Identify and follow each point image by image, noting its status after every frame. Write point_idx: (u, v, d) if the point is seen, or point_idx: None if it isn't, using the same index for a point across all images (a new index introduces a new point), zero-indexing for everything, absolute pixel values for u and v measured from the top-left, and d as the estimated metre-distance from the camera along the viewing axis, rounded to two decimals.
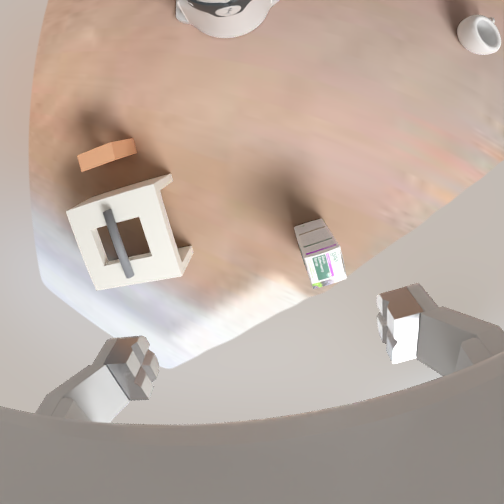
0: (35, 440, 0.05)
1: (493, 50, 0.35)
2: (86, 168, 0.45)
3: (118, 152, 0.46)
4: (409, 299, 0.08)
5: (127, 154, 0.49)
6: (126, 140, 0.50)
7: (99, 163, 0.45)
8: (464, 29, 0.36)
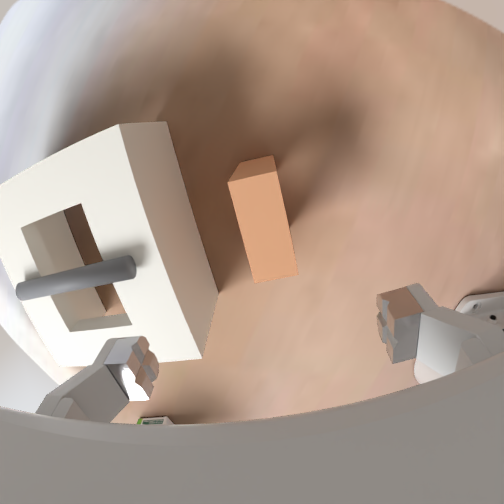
0: (35, 440, 0.05)
1: None
2: (236, 200, 0.19)
3: None
4: (409, 299, 0.08)
5: None
6: None
7: (248, 241, 0.20)
8: None
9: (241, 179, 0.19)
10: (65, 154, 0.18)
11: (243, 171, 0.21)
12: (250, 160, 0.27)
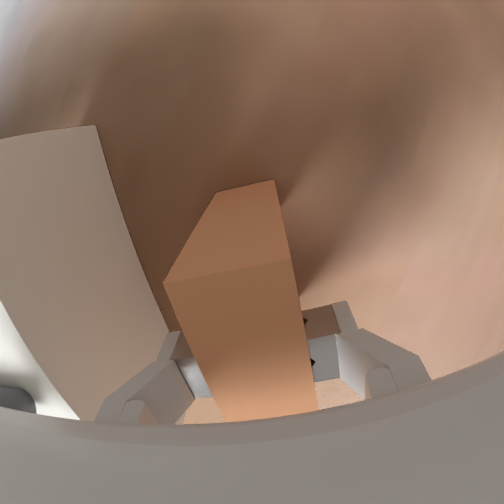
0: (35, 440, 0.05)
1: None
2: (190, 323, 0.08)
3: None
4: (329, 318, 0.09)
5: None
6: None
7: (222, 394, 0.09)
8: None
9: (197, 276, 0.07)
10: None
11: (212, 231, 0.10)
12: (234, 189, 0.15)
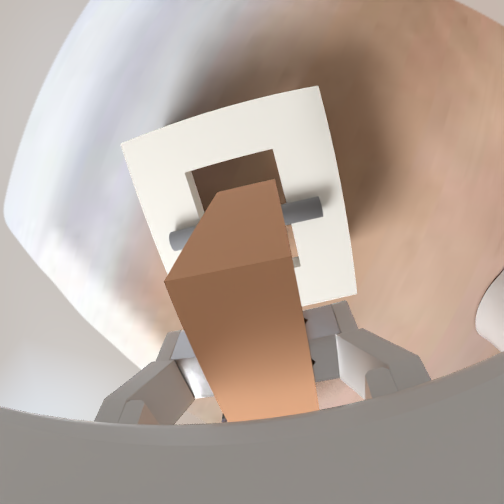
0: (35, 440, 0.05)
1: None
2: (191, 321, 0.08)
3: None
4: (329, 318, 0.09)
5: None
6: None
7: (223, 393, 0.09)
8: None
9: (198, 274, 0.07)
10: (259, 103, 0.21)
11: (213, 230, 0.10)
12: (234, 189, 0.15)
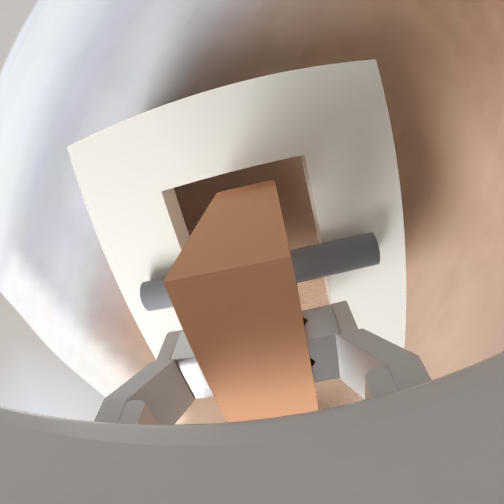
0: (35, 440, 0.05)
1: None
2: (190, 321, 0.08)
3: None
4: (329, 318, 0.09)
5: None
6: None
7: (222, 393, 0.09)
8: None
9: (197, 275, 0.07)
10: (284, 80, 0.12)
11: (212, 231, 0.10)
12: (234, 189, 0.15)
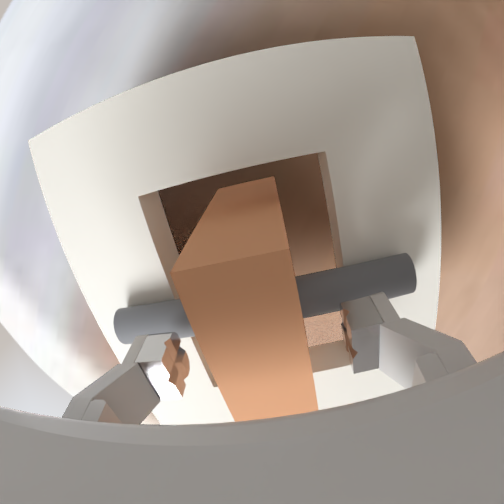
0: (35, 440, 0.05)
1: None
2: (195, 310, 0.08)
3: None
4: (370, 309, 0.09)
5: None
6: None
7: (224, 380, 0.09)
8: None
9: (202, 266, 0.08)
10: (301, 53, 0.09)
11: (215, 225, 0.10)
12: (235, 186, 0.16)
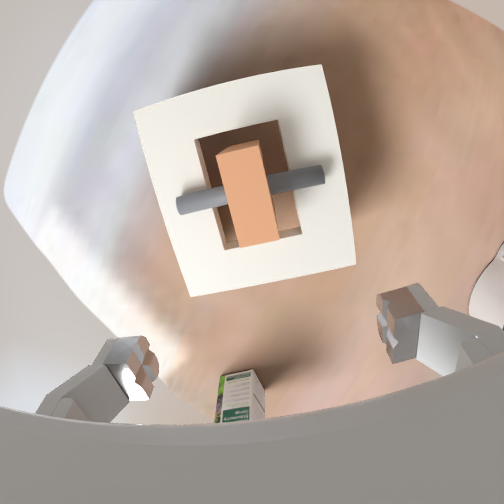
0: (35, 440, 0.05)
1: None
2: (223, 171, 0.21)
3: None
4: (409, 299, 0.08)
5: None
6: None
7: (233, 208, 0.22)
8: None
9: (227, 153, 0.21)
10: (267, 77, 0.22)
11: (230, 149, 0.24)
12: (238, 144, 0.29)
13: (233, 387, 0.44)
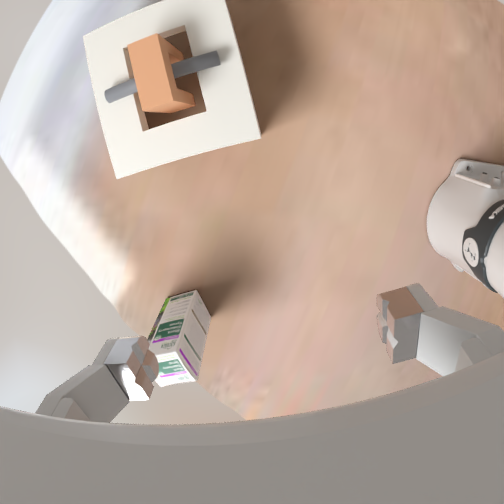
0: (35, 440, 0.05)
1: None
2: (132, 54, 0.23)
3: (158, 108, 0.26)
4: (409, 299, 0.08)
5: (162, 111, 0.29)
6: (187, 104, 0.30)
7: (138, 80, 0.24)
8: None
9: (135, 42, 0.22)
10: None
11: None
12: None
13: (174, 304, 0.45)
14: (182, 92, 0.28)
